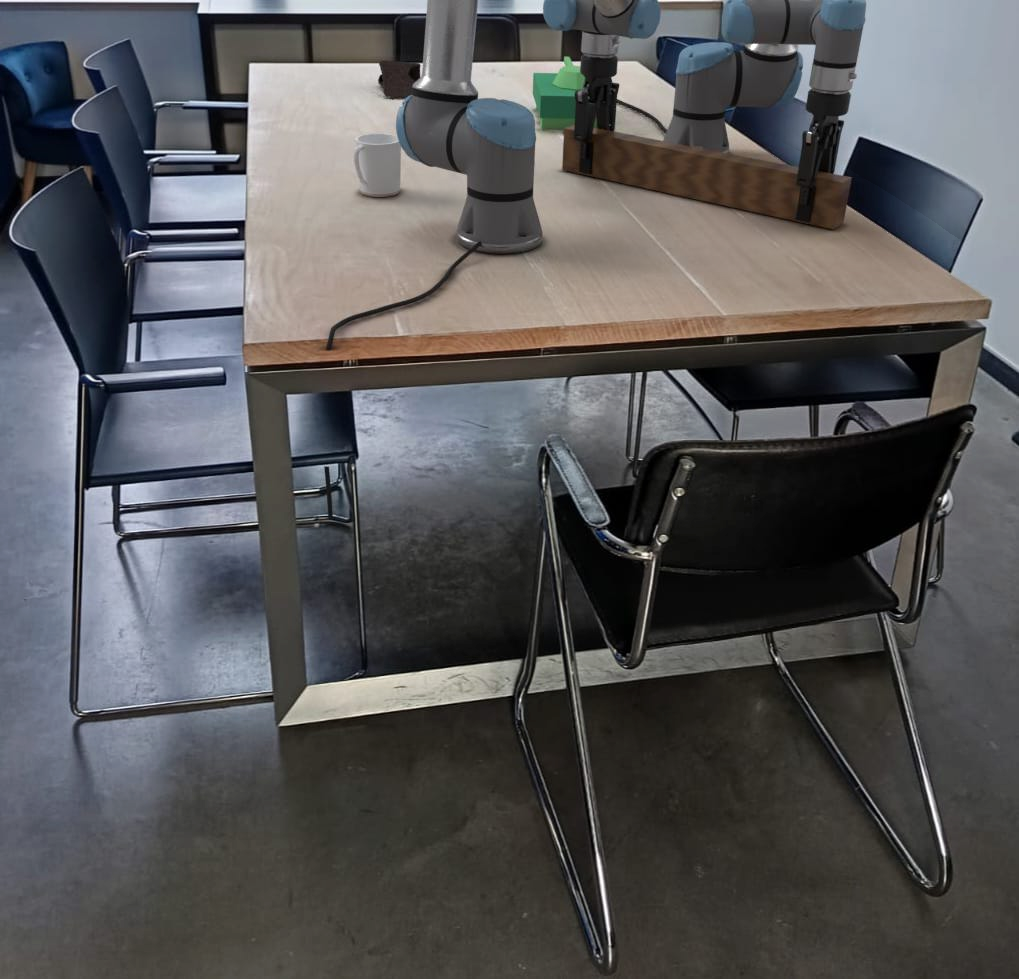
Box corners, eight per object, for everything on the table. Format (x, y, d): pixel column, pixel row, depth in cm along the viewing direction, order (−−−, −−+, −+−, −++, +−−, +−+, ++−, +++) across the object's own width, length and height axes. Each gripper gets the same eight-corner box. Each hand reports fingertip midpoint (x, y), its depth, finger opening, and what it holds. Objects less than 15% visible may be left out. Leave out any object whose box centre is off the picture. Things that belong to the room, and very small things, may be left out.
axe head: (443, 87, 294) (392, 77, 287) (436, 115, 299) (385, 106, 292) (421, 62, 307) (371, 52, 300) (414, 89, 311) (365, 80, 304)
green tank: (599, 53, 287) (616, 80, 258) (595, 101, 294) (612, 133, 264) (532, 51, 286) (541, 79, 257) (530, 100, 293) (539, 132, 263)
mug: (380, 182, 225) (378, 131, 219) (411, 190, 220) (410, 138, 215) (340, 193, 218) (337, 140, 212) (372, 202, 213) (370, 149, 207)
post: (562, 169, 235) (564, 128, 231) (574, 165, 238) (576, 124, 234) (833, 229, 204) (842, 182, 200) (843, 223, 207) (852, 177, 203)
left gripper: (590, 62, 213) (583, 182, 225) (638, 51, 225) (629, 165, 238) (559, 57, 217) (554, 175, 229) (607, 46, 229) (600, 159, 241)
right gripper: (830, 101, 188) (808, 232, 201) (868, 85, 201) (845, 210, 213) (789, 94, 192) (770, 224, 204) (830, 79, 204) (809, 202, 217)
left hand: (592, 170), depth 233 cm, fingers closed on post, 5 cm apart
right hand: (808, 216), depth 209 cm, fingers closed on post, 5 cm apart
